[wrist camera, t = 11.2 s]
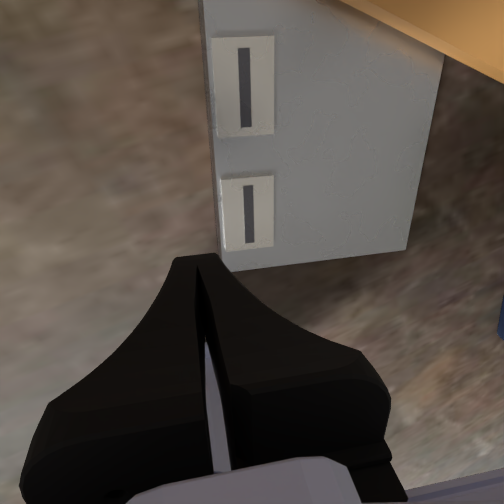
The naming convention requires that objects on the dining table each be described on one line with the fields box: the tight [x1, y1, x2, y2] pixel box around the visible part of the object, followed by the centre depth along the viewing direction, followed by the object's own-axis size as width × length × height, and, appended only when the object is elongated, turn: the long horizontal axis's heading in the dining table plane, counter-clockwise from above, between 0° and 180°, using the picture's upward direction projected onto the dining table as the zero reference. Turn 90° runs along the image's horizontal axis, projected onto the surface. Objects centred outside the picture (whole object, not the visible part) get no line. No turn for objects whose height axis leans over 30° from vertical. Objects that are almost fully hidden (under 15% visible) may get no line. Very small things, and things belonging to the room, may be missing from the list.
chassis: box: [198, 0, 445, 272], centre depth 20 cm, size 14×11×3 cm
